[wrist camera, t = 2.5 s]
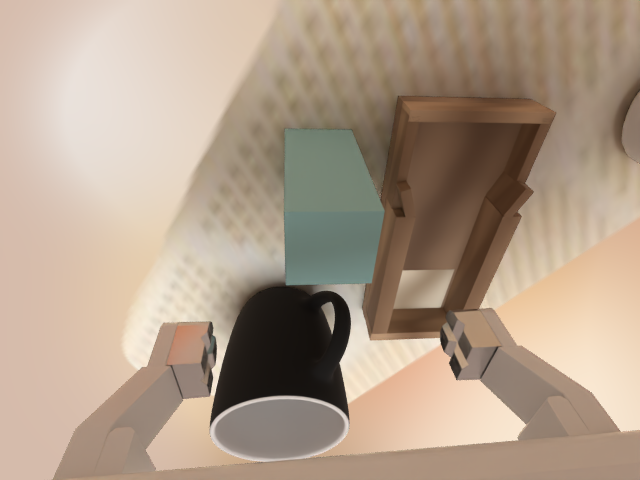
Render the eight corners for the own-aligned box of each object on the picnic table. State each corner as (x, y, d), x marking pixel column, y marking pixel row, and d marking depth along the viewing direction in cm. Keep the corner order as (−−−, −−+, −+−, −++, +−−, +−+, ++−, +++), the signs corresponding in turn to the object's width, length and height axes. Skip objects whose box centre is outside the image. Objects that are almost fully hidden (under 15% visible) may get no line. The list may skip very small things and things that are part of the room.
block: (351, 129, 21) (384, 211, 14) (345, 188, 24) (371, 283, 17) (284, 128, 21) (284, 211, 14) (285, 188, 23) (285, 285, 16)
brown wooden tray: (530, 99, 21) (568, 119, 18) (449, 306, 32) (465, 338, 29) (398, 95, 20) (416, 116, 17) (362, 308, 31) (369, 341, 28)
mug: (295, 354, 34) (298, 471, 26) (210, 322, 31) (183, 447, 23) (378, 279, 29) (413, 397, 21) (287, 229, 25) (288, 350, 17)
